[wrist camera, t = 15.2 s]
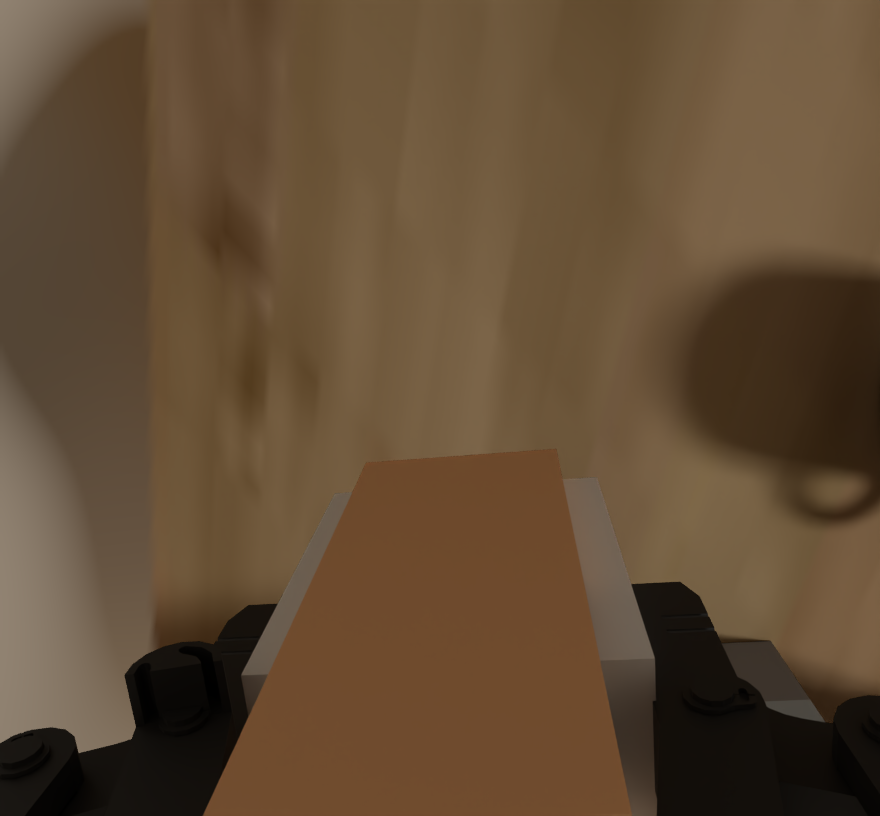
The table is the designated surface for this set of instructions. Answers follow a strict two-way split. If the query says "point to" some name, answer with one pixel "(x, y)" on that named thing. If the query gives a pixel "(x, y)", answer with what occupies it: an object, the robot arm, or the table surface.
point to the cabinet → (771, 678)
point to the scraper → (437, 659)
